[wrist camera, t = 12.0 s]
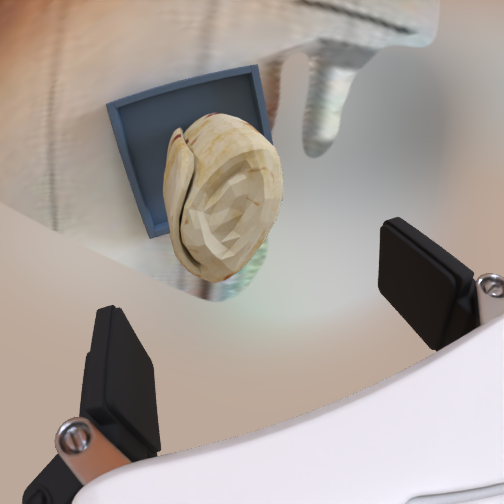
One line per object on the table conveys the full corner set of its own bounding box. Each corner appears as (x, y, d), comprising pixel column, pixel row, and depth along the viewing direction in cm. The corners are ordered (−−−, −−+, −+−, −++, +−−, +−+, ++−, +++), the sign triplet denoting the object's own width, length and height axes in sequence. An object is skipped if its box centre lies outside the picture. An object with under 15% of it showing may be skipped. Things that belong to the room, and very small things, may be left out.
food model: (207, 199, 36) (250, 310, 19) (151, 181, 34) (140, 285, 17) (242, 118, 33) (327, 159, 16) (184, 96, 30) (206, 106, 13)
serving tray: (150, 231, 37) (149, 239, 35) (109, 103, 29) (105, 104, 27) (276, 194, 39) (282, 200, 37) (252, 65, 31) (257, 64, 29)
